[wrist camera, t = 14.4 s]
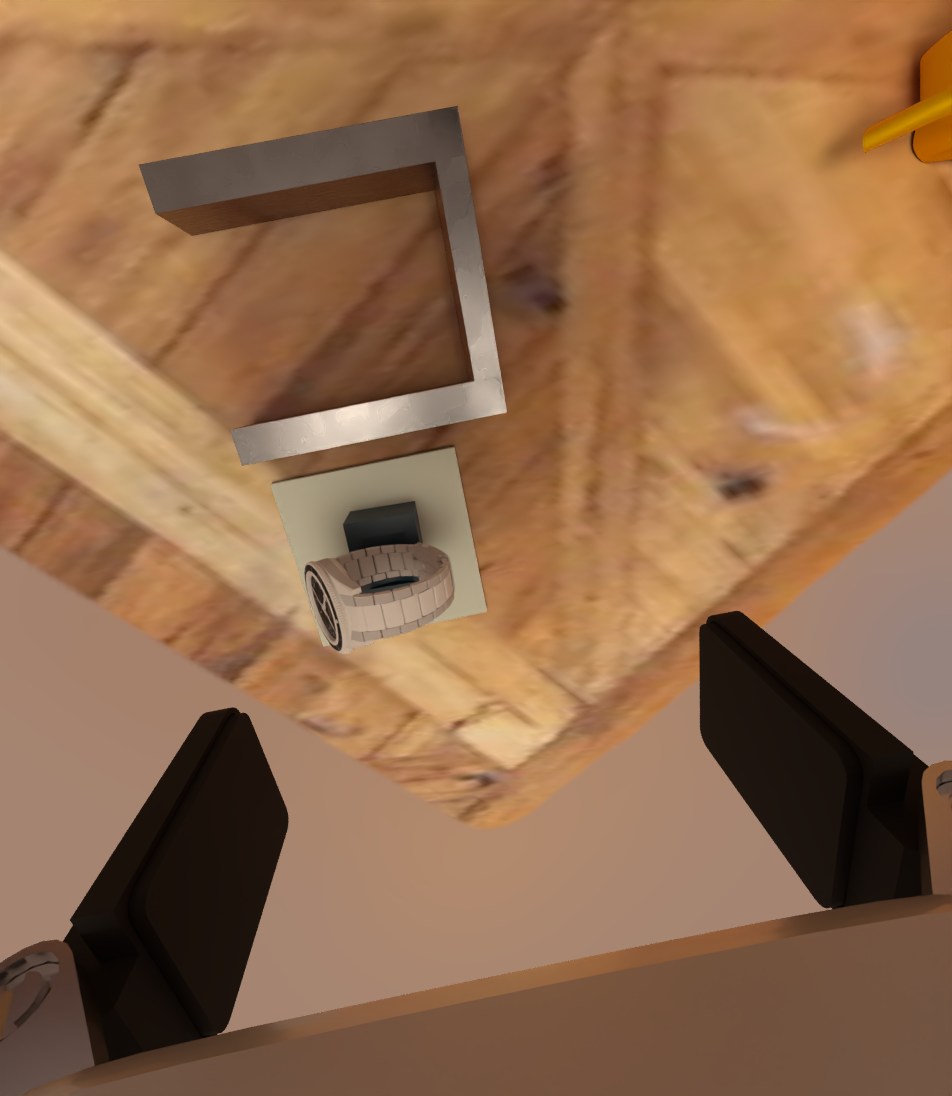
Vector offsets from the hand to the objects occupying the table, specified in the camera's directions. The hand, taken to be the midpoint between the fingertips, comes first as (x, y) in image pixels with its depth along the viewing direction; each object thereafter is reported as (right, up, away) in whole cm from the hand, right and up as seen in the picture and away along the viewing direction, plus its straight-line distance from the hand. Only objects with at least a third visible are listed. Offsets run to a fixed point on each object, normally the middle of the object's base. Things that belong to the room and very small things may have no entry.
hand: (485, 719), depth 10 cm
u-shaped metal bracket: (-8, +18, +20) cm, 27 cm away
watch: (-6, +4, +24) cm, 25 cm away
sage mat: (-6, +3, +25) cm, 26 cm away
